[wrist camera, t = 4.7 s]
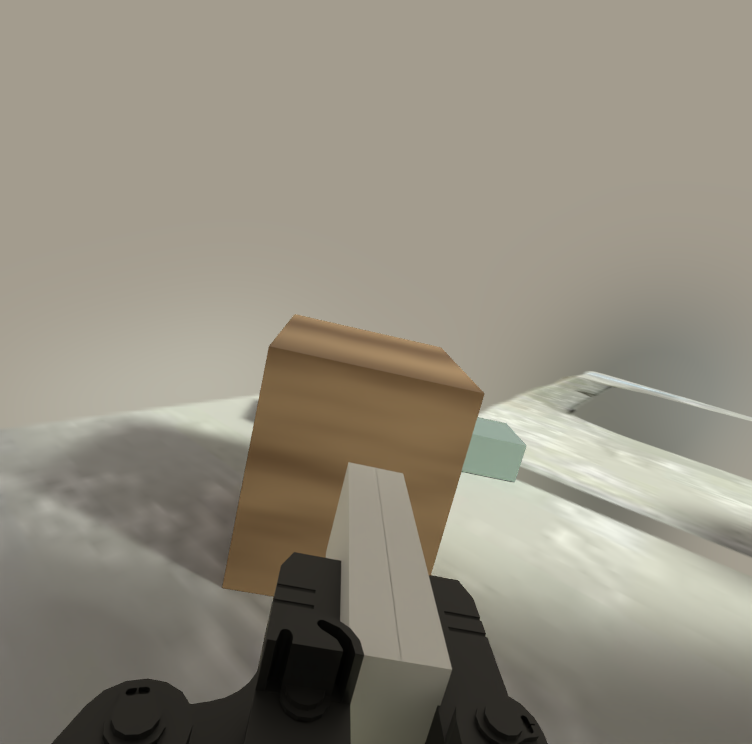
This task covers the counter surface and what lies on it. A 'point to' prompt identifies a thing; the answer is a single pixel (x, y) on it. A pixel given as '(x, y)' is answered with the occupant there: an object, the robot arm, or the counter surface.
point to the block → (345, 440)
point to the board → (494, 451)
